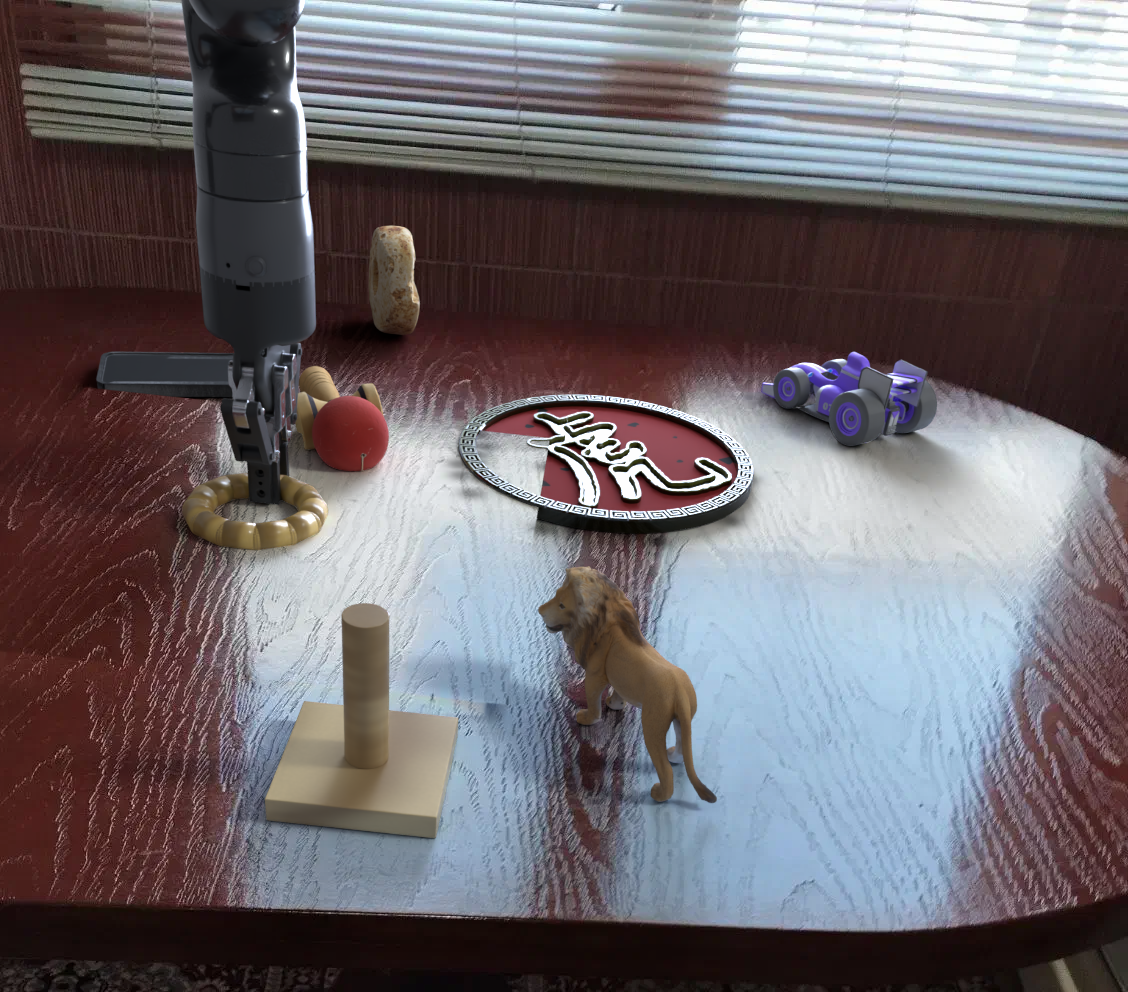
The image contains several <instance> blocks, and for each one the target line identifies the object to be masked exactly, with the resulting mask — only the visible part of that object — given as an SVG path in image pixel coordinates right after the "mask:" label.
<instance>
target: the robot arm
mask: <svg viewBox="0 0 1128 992" xmlns="http://www.w3.org/2000/svg"><path fill="white" fill-rule="evenodd" d="M306 1H307V0H180V2H181V8H182V9H181V11H182V17H183V24H184V33H185V39H186V48H187V55H188V62H189V68H190V74H191V82H192V142H193V153H194V166H195V167H194V168H195V179H196V194H197V195H196V208H195V209H196V210H195V211H196V212H195V225H196V226H195V228H196V238H197V239H196V241H197V253H198V264H199V265H198V266H199V278H200V288H201V289H200V290H201V299H202V300H201V302H202V315H203V323H204V326H205V328H206V330H207V331H208V332H209V333H210V334H211V335H212V336H214V337H215V338H217V339H218V340H223V341H224V342H226V343H228V345H230V347H232V350H233V352H232V353H233V361H232V360H230V361H229V364H228V383H229V386H230V387H231V388H232V396H233V397H232V398H227V397H222V400H221V403H220V406H219V408H220V412H221V413H220V414H221V416H222V419H223V423H224V426H225V431H226V434H227V437H228V441H229V444H230V447H231V450H232V454H233V457H234V460H235V462H241V463H244V462H245V463H246V469H247V472H246V473H248V487H249V498H248V501H249V502H250V503H258V504H267V505H277V506H279V505H280V503H281V502H282V501H281V486H280V475H287V476H290V460H289V459H290V457H289V443H290V442H291V439H292V438H293V432H292V426H296V425H295V423H296V420H297V401H298V393H299V378H300V375H301V374H300V373H301V359H302V355H303V348H302V344H301V342H303V341H305V340H307V339H308V338H310V336H312V335H313V333H314V332H315V330H316V327H317V316H316V315H317V312H316V311H317V310H316V275H315V273H316V271H315V244H314V243H315V239H314V238H315V237H314V235H315V234H314V223H313V216H312V211H311V210H312V209H311V204H310V195H309V173H308V172H309V171H308V170H309V169H308V137H307V136H308V135H307V127H306V126H307V125H306V117H305V112H304V108H303V103H302V101H301V96H300V94H299V90H298V84H297V83H298V82H297V81H298V80H297V47H296V45H297V43H296V25H297V24H298V22H299V20H300V18H301V17H302V14H303V11H304V9H305V6H306Z"/></svg>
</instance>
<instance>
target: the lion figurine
mask: <svg viewBox="0 0 1128 992" xmlns="http://www.w3.org/2000/svg"><path fill="white" fill-rule="evenodd" d="M565 573H566V574H565V577H564V580H563V582H562V586H560V587H558V588H557V589H556V591H555V595H554V597H552V598H551V599H549V600H548V601H547V602H546V601H545V602H544V603H542V604H541V605H539V606H538V608H537V612H538V614H539V616H541V619H542V621H543V623H544V624H545V629H546V631H547V633H548V634H552V635H553V634H557V633H559V632H561V635H562V639H563V642H564V643H566V644H567V645H568V646H570V647H571V648H572V649H573V653H574V659H575V662H576V663H577V664H578V665H579V666H580V667H581V669H582V670H584V671H585V672H584V691H585V698H586V703H587V708H586V709H585V708H582V709H580V710H578V712H577V713H576V715H575V718H576V722H577V724H580V725H583V726H592V725H595V724H597V723H598V722H600V720H601V718H602V712H603V711H602V697H603V693H604V692H605V691H606V689H607V687H608V686H609V685H610V686H611V687H612V688H613V690H612V694H611V695H609V696H607V697H606V699H605V704H606V706H607V707H608V708H610V709H612V710H623V709H624V708H625V707H626V706H627V703H628V704H630V705H631V706H633V707H634V708H636V709H639V710H641V712H640V713H641V715H640V720H641V721H640V722H641V727H642V737H643V742H644V745H645V748H646V750H647V753H648V755H649V757H650V760H651V763H652V764H653V767H654V769H655V772H656V775H657V777H658V781H659V782H655V783H654V784H653V785H652V787H651V788H650V797H651V799H653V801H655V802H658V803H663V802H666V801H668V800H670V799H671V798H672V797H673V796H674V790H675V782H674V781H675V780H674V769H673V767H672V765H671V763H674V764H683V765H684V769H685V773H686V776H687V779H688V780H689V783H690V784H691V785H692V787H693V789H694V790H695V792H696V794H697V795H698V797H699V798H700V800H701V801H705V802H706V803H709V804H714V803H717V802H718V797H717V796H716V795H715V794H714V792H713V791H712V790H711V789H710V788H708V787H707V785H706V784H704V783H703V782H702V780H700V778H699V777H698V775H697V772H696V770H695V767H694V766H695V765H694V757H693V744H692V743H693V742H692V741H693V740H692V736H693V735H692V721H693V719H694V717H695V716H696V713H697V711H698V699H697V697H698V696H697V693H696V689H695V687H694V684H693V683H692V681H691V678H690V676H689V674H688V673H687V672H686V671H685V669H683V668H681V667H680V666H677V665H675V664H673V663H672V662H671V661H669V660H667V659H666V658H665V657H663V655H661V653H660V652H659V651H658V650H657V649H656V648H655V647H654V646H653V645H652V644H651V643H650V642H649V641H648V640H647V639H646V638H645V636H644V635H643V632H642V629H641V622H640V616H639V614H638V613H637V610H636V608H635V607H634V606H633V602H632V601H631V600H629V599H628V597H627V596H626V595H625V592H624V591H623V589H620V587H619V586H618V584H617V583H616V582H614V581H613V580H612V578H608V576H607V575H606V574H605V573H603V572H601V571H599V570H598V569H596V568H591V566H589V565H588V566H578V567H576V566H573V567H570V568H567V567H565ZM671 725H672V727H673V730H674V734H675V745H674V746H670V747H667V734H668V732H669V731H670V729H671ZM670 762H671V763H670Z"/></svg>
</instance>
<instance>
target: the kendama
mask: <svg viewBox="0 0 1128 992" xmlns="http://www.w3.org/2000/svg"><path fill="white" fill-rule="evenodd" d="M298 390H299V391H300V392H298V401H297V420H296V423H295V425H294V426H295V429H296V432H297V433H298V434H301V437H302V442H303V449H304V450H306V451H309V450H310V451H311V450H316V453H317V455H318V456H319V458H320V459H321V460H322V462H323V463H325V464H326V465H327V466H328V467H329V468H332V469H335V470H338V471H344V472H363V471H368V470H370V469H373V468H375V467H376V466H377V465H378V464H379V463H380V462H381V461H382V460H383V458H384V457H385V455H386V453H387V450H388V447H389V441H390V432H389V431H390V430H389V427H388V423H387V421H386V419H385V416H384V411H383V407H382V403H381V399H380V395H379V392H378V390H377V388H376V385H375V384H374V383H372V382H371V383H362V384H361V385H359V387H357V389H356V390H355V392H354V393H353V394H351V395H342V396H341V395H340V393H339V391H338V389H337V387H336V385H335V383H334V381H333V378H332V376H331V375H330V373H329V372H328V371H327V370H326V369H325V368H323V367H321V366H319V365H312V366H309V367H307V368H305V369H304V370H303V371H302V373H301V374H300V375H299V388H298Z"/></svg>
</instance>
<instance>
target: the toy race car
mask: <svg viewBox="0 0 1128 992" xmlns="http://www.w3.org/2000/svg"><path fill="white" fill-rule="evenodd" d="M928 373H929V371H927V370H926V369H923V368H921V367H919V366H916V365H914V364H912V363H910V362H908V361H906V360H903V359H899V360H897V361H896V362H894V366H893V370H892V373H887V374H885V373H883V372H880V371H878V370H877V369H874V368H872V367H871V364H870V361H869V360H868V358H867V357H866V356H864V355H862V354H860V353H858V352H856V351H852V352H850V353H849V354H848V356H847V360H846V359H843V358H836V359H832V360H828V361H825V362H824V363H823V364H822V365H818V364H816V363H812V362H801V363H798V364H794V365H792V366H790V367H789V368H785V369H781V370H779V372H778V373H776V375H775V377H774V380H773V383H769V382H762V384H761V388H760V389H761V390H760V393H762V394H763V395H765V396H767V397H769V398H772V399H775V401H776V403H777V404H778V406H780V407H782V408H783V409H786V410H789V409H794V408H798V409H799V410H800V411H802V412H804V413H806V414H807V415H810V416H812V417H814V418H816V419H819V420H821V421H824V422H827V423H829V427H830V430H831V433H832V435H833V437H834V438H835V439H836V440H837V441H838V442H839V443H840V444H842V445H844V446H847V447H855V446H858V445H859V446H860V445H864V444H867V443H870V442H873V441H874V440H876V439H877V438H878V437H879V436H881V435H882V436H885V437H886V436H890V435H893V434H895V433H899V434H907V433H912V432H916V431H920V430H923V429H926V428H927V427H928V426H930V424H932V422H933V420H934V418H935V416H936V414H937V409H938V398H937V393H936V392H935V389H934V388H933V386H932V384H930V382H928V381H927V380H926V379H927V376H928ZM813 394H814V397H815V403H812V404H806V403H807V402H808V400H809V398H810V395H813Z"/></svg>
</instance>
